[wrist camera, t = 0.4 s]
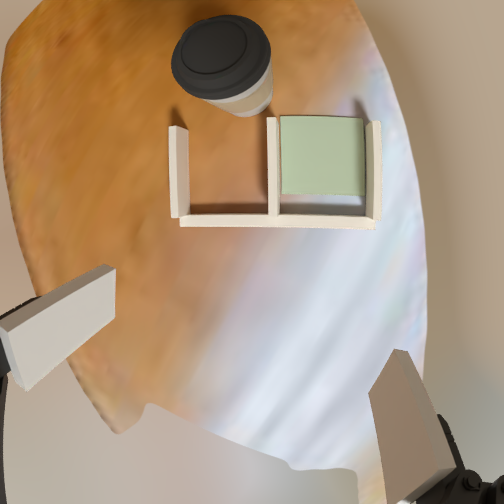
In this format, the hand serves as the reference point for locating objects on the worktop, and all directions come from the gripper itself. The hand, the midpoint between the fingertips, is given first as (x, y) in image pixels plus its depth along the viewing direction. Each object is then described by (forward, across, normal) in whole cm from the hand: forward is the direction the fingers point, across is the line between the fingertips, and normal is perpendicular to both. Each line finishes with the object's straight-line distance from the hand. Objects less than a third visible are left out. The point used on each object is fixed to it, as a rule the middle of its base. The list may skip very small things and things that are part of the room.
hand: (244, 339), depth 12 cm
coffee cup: (+26, -9, +16) cm, 32 cm away
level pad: (+26, +2, +11) cm, 28 cm away
